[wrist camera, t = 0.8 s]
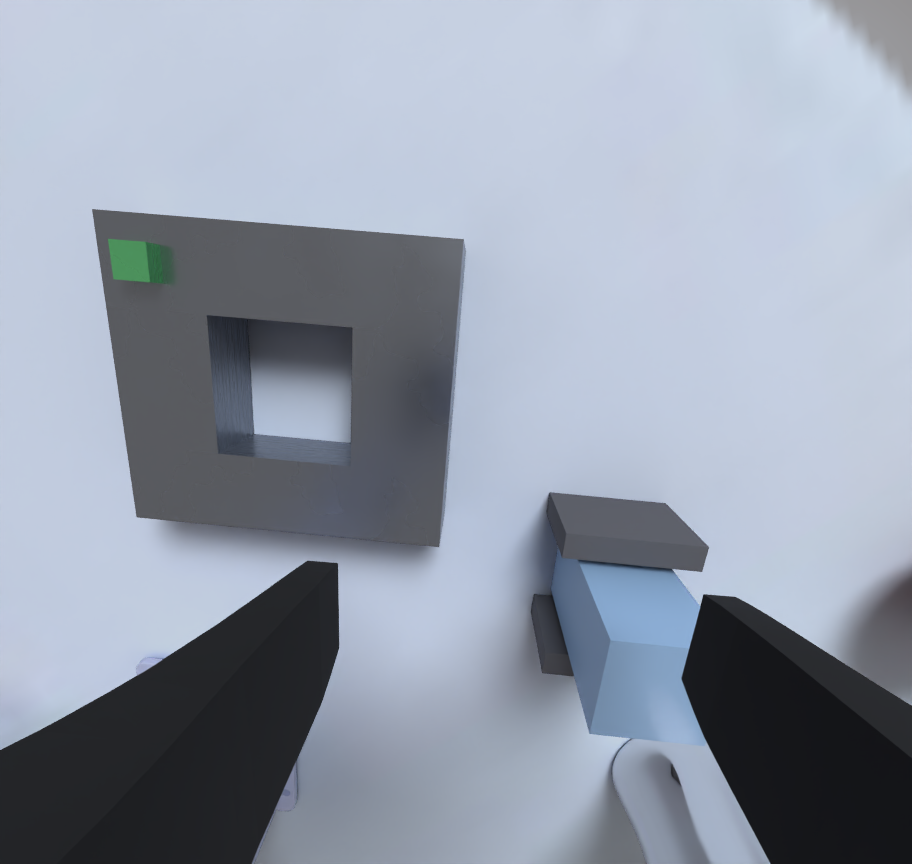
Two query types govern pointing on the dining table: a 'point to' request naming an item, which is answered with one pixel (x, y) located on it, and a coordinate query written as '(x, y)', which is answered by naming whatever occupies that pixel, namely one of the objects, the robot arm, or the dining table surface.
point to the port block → (229, 382)
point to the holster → (609, 552)
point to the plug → (628, 647)
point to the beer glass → (682, 805)
